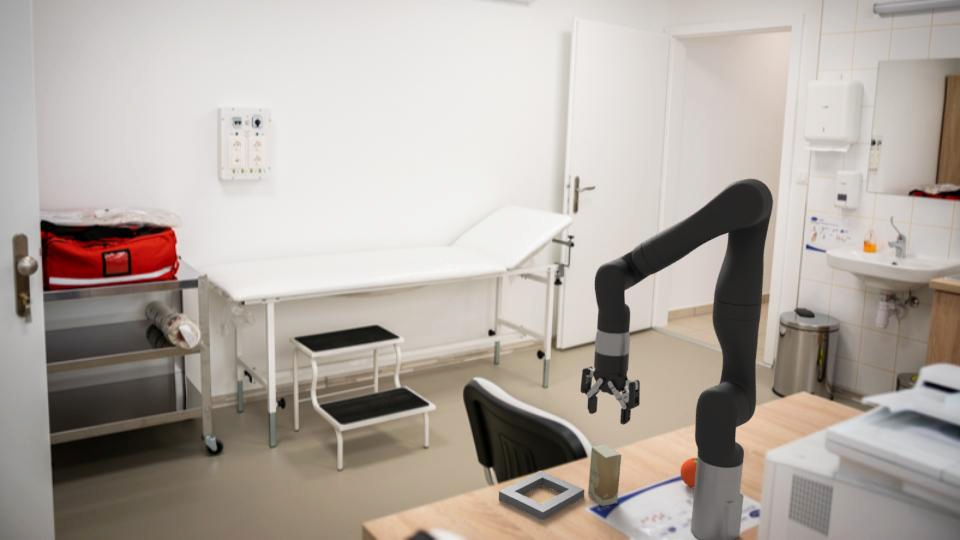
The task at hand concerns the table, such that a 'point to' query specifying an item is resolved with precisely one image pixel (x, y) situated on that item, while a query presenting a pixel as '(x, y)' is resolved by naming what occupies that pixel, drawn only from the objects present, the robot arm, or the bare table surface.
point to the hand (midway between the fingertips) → (608, 418)
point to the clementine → (689, 472)
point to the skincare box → (604, 474)
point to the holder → (548, 508)
